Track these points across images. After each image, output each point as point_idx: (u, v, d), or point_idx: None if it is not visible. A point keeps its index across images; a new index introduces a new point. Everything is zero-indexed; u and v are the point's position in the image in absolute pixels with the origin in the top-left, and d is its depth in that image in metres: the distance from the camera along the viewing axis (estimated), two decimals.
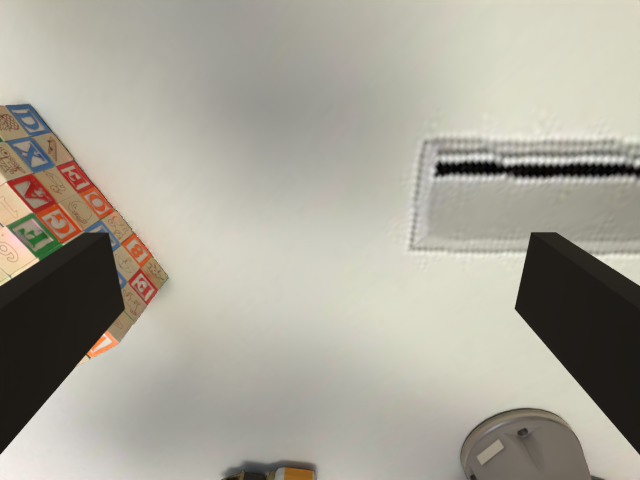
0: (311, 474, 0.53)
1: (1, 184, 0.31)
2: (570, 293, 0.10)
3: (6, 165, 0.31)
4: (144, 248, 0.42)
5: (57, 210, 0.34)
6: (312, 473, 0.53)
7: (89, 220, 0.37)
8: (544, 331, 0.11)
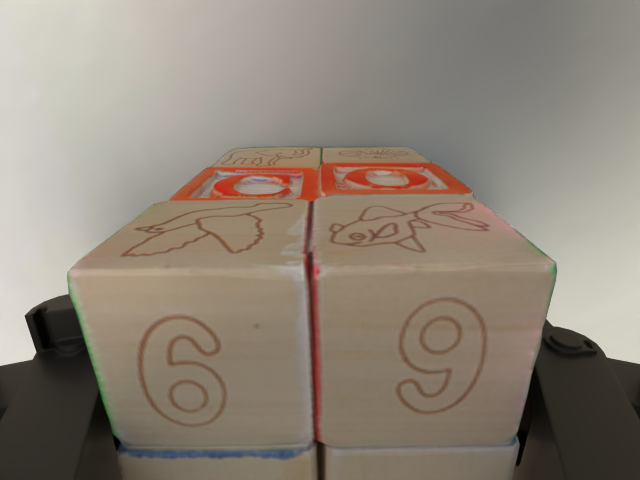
0: None
1: None
2: None
3: None
4: None
5: None
6: None
7: None
8: None
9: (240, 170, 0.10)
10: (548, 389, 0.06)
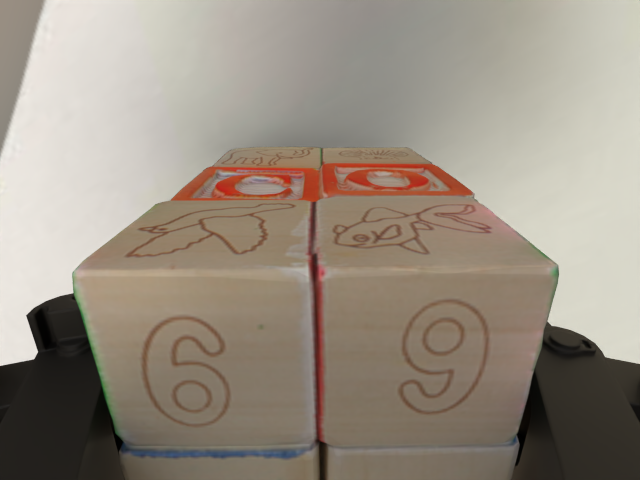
0: None
1: None
2: None
3: None
4: None
5: None
6: None
7: None
8: None
9: (241, 170, 0.10)
10: (547, 389, 0.06)
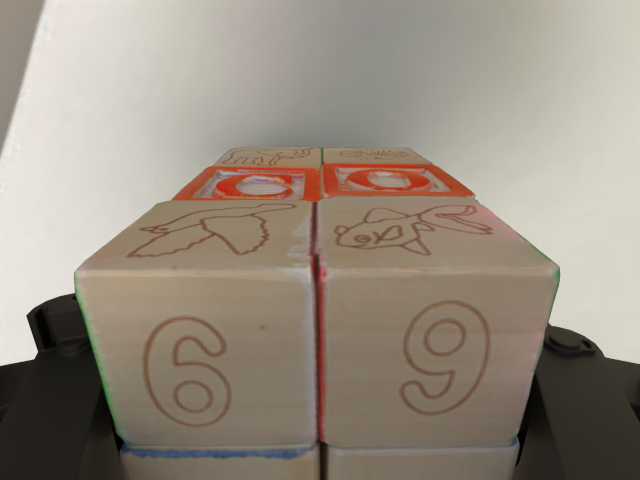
0: None
1: None
2: None
3: None
4: None
5: None
6: None
7: None
8: None
9: (242, 170, 0.10)
10: (546, 389, 0.06)
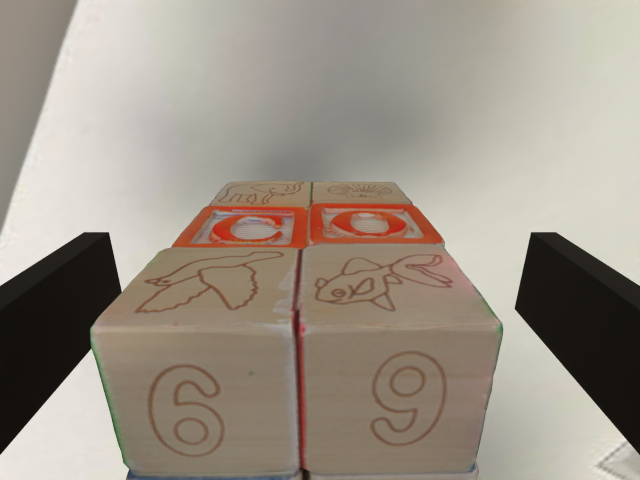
0: None
1: None
2: (570, 292, 0.10)
3: None
4: None
5: None
6: None
7: None
8: (544, 331, 0.11)
9: (236, 210, 0.11)
10: None
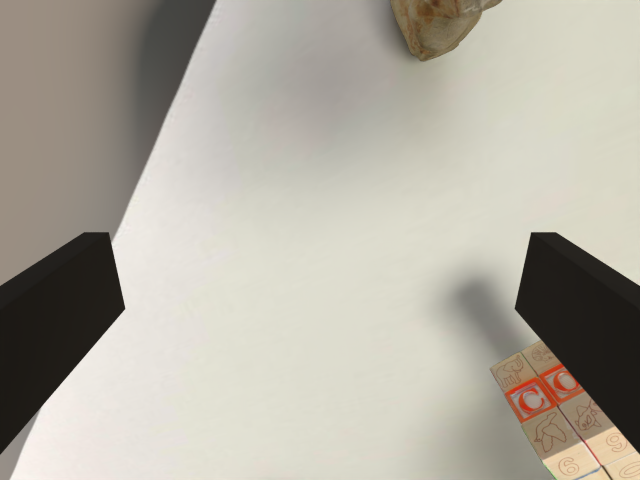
0: None
1: None
2: (570, 292, 0.10)
3: None
4: None
5: None
6: None
7: None
8: (544, 331, 0.11)
9: (516, 391, 0.31)
10: None
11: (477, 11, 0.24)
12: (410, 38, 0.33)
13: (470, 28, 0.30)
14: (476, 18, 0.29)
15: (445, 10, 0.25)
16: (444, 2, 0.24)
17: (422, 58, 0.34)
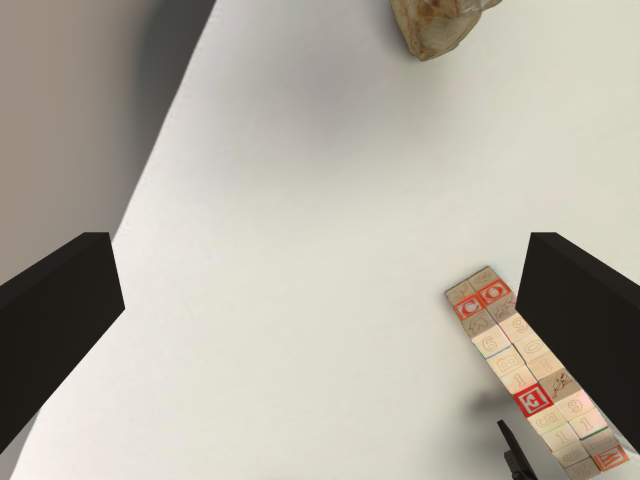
0: None
1: (548, 351, 0.39)
2: (570, 292, 0.10)
3: None
4: None
5: None
6: None
7: None
8: (544, 331, 0.11)
9: (461, 303, 0.44)
10: None
11: (477, 11, 0.24)
12: (410, 38, 0.33)
13: (470, 28, 0.30)
14: (476, 18, 0.29)
15: (445, 10, 0.25)
16: (444, 2, 0.24)
17: (422, 58, 0.34)
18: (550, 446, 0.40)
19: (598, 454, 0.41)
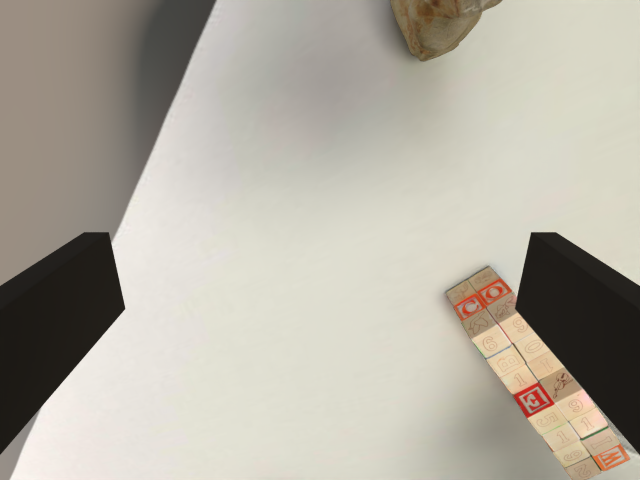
0: None
1: (549, 350, 0.39)
2: (570, 292, 0.10)
3: None
4: None
5: None
6: None
7: None
8: (544, 331, 0.11)
9: (461, 303, 0.44)
10: None
11: (477, 11, 0.24)
12: (410, 38, 0.33)
13: (470, 28, 0.30)
14: (476, 18, 0.29)
15: (445, 10, 0.25)
16: (444, 2, 0.24)
17: (422, 58, 0.34)
18: (551, 446, 0.40)
19: (599, 454, 0.41)
